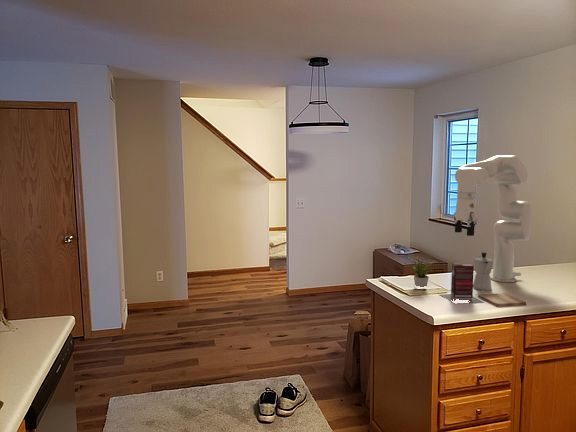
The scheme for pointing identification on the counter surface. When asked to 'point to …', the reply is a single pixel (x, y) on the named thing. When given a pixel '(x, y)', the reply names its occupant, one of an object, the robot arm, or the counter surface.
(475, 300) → the plate
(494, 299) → the walnut board
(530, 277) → the counter surface
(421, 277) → the house plant
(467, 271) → the supplement box
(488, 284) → the coffee maker
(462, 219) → the robot arm
